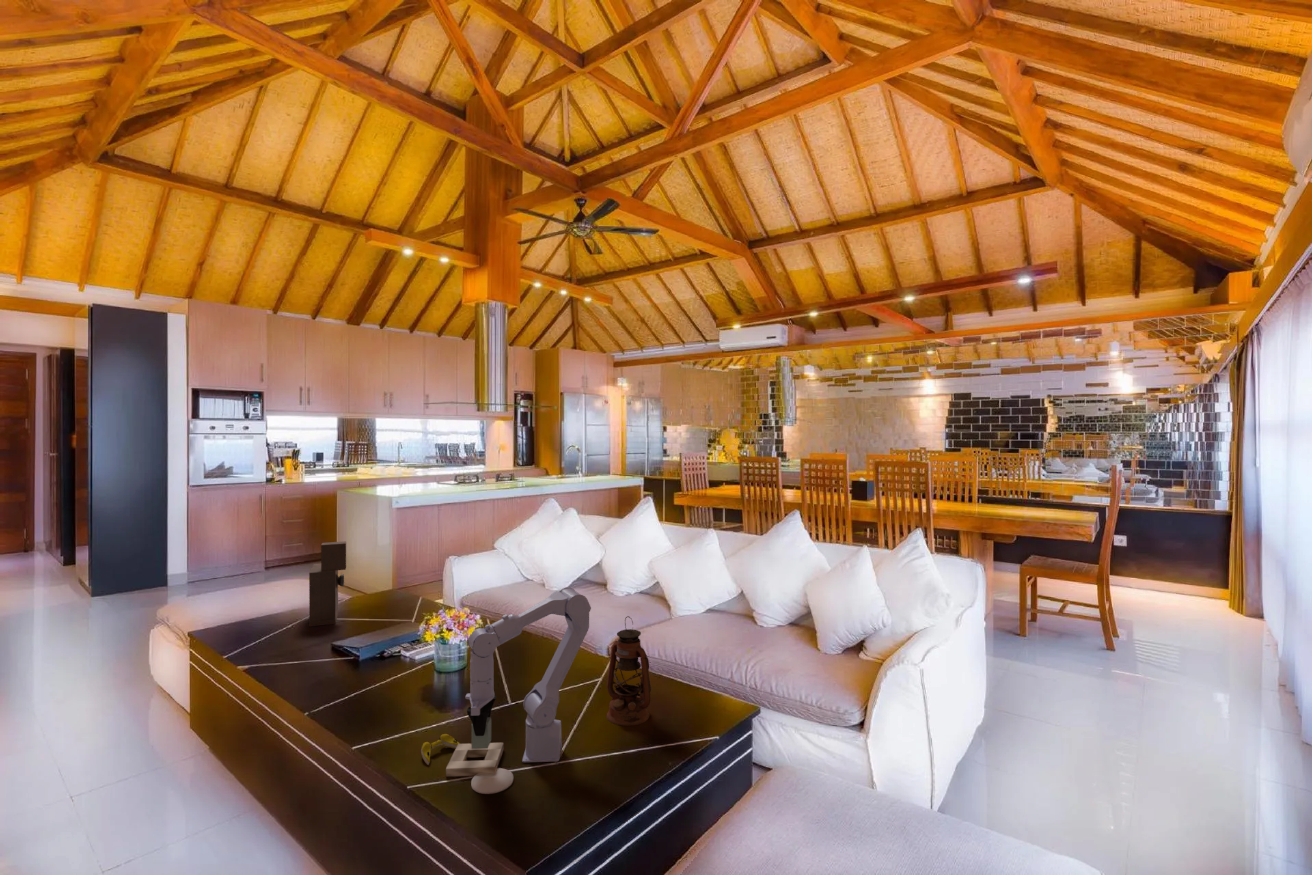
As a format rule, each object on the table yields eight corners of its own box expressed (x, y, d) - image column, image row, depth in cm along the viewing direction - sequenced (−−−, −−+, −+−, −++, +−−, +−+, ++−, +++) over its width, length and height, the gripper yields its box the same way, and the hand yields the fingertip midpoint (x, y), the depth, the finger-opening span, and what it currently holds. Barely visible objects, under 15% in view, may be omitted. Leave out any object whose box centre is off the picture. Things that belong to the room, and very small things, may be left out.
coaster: (516, 769, 157) (516, 767, 157) (509, 793, 147) (509, 790, 147) (476, 771, 156) (476, 768, 156) (466, 794, 146) (466, 792, 146)
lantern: (592, 715, 186) (593, 616, 186) (620, 700, 197) (620, 606, 196) (636, 732, 176) (637, 628, 176) (663, 715, 187) (663, 617, 186)
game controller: (446, 738, 170) (449, 728, 170) (459, 754, 167) (462, 743, 166) (413, 753, 162) (416, 743, 162) (426, 770, 159) (429, 759, 158)
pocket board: (503, 749, 166) (503, 742, 166) (494, 774, 154) (494, 766, 154) (458, 751, 165) (458, 743, 165) (445, 776, 153) (445, 768, 153)
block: (491, 740, 159) (491, 717, 159) (487, 748, 155) (487, 724, 155) (475, 740, 158) (475, 717, 158) (471, 748, 154) (471, 724, 154)
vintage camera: (345, 622, 274) (345, 543, 273) (309, 626, 268) (308, 546, 267) (347, 610, 291) (347, 536, 290) (313, 613, 285) (313, 538, 285)
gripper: (473, 666, 163) (473, 717, 164) (458, 689, 149) (458, 745, 149) (499, 666, 164) (499, 716, 164) (487, 689, 149) (487, 744, 149)
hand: (482, 730), depth 156 cm, fingers closed on block, 4 cm apart
